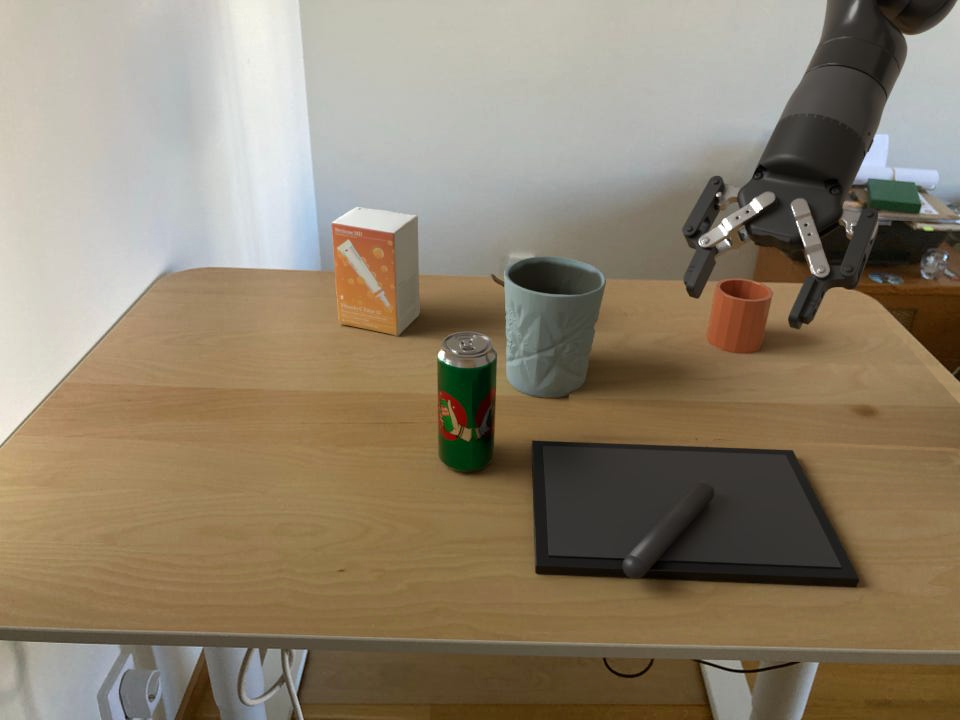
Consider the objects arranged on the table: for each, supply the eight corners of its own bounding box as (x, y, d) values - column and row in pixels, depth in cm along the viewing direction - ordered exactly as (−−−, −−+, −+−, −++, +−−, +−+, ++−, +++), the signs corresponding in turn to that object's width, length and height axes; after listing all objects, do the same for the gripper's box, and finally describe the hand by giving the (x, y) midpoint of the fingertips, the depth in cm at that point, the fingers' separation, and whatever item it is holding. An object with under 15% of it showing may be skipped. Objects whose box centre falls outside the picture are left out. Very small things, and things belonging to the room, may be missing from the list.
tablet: (790, 457, 72) (793, 448, 71) (856, 587, 58) (860, 577, 57) (531, 447, 72) (531, 438, 72) (535, 574, 58) (535, 564, 58)
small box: (337, 325, 93) (329, 221, 87) (363, 304, 98) (356, 204, 92) (398, 337, 91) (394, 232, 84) (421, 315, 96) (419, 214, 89)
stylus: (708, 499, 65) (629, 587, 57) (693, 482, 66) (613, 567, 57) (722, 490, 64) (644, 578, 55) (707, 473, 64) (627, 558, 56)
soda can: (488, 439, 73) (491, 327, 67) (498, 472, 69) (502, 355, 63) (435, 444, 72) (433, 331, 67) (442, 478, 68) (441, 360, 62)
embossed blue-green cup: (484, 365, 85) (486, 264, 79) (561, 346, 89) (569, 249, 84) (531, 411, 78) (538, 303, 72) (613, 388, 82) (626, 284, 76)
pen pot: (752, 332, 93) (764, 279, 90) (767, 357, 88) (780, 302, 85) (700, 330, 94) (710, 277, 90) (712, 355, 88) (722, 300, 85)
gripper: (731, 98, 65) (649, 265, 63) (914, 125, 57) (828, 316, 55) (745, 149, 71) (670, 303, 69) (912, 179, 64) (834, 353, 62)
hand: (740, 309), depth 62 cm, fingers open, 8 cm apart
